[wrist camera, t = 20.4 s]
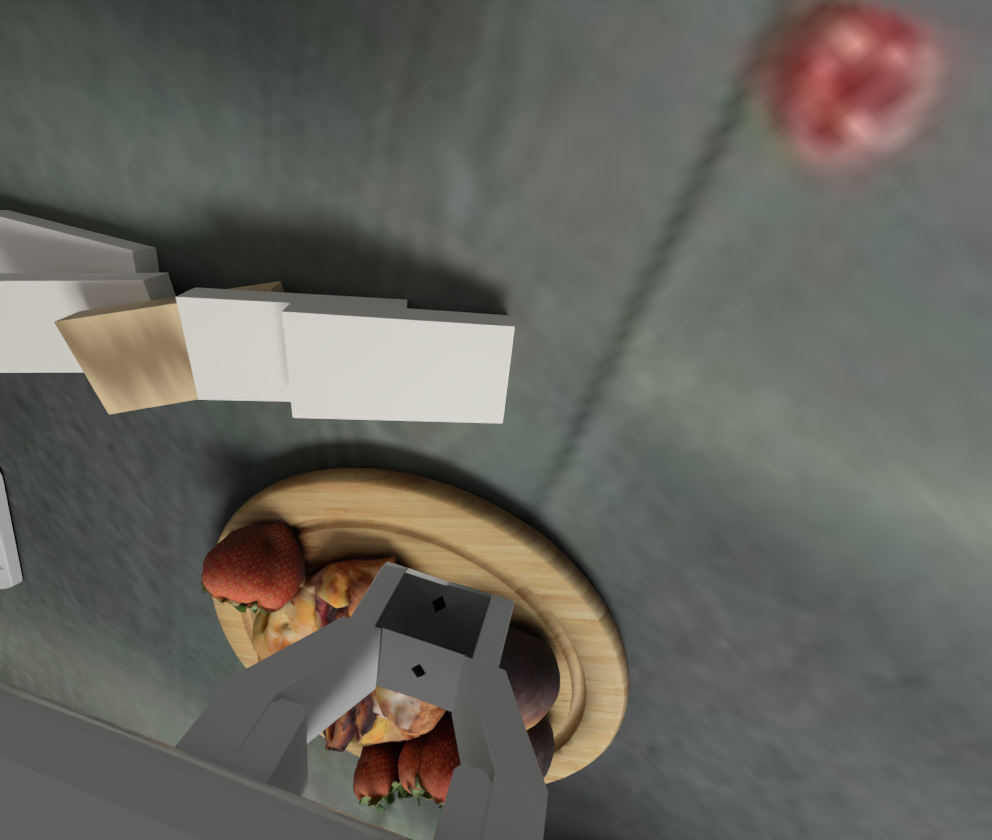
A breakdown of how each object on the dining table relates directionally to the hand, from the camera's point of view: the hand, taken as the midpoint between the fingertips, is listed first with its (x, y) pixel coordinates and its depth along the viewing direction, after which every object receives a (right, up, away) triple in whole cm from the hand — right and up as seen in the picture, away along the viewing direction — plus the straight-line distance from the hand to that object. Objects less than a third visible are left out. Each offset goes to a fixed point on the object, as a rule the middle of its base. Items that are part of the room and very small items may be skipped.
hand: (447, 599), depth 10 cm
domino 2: (-17, +9, +15) cm, 24 cm away
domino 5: (+1, +7, +13) cm, 14 cm away
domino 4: (-4, +8, +14) cm, 16 cm away
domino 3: (-10, +9, +14) cm, 20 cm away
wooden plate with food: (-5, -13, +25) cm, 29 cm away
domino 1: (-19, +11, +16) cm, 27 cm away
